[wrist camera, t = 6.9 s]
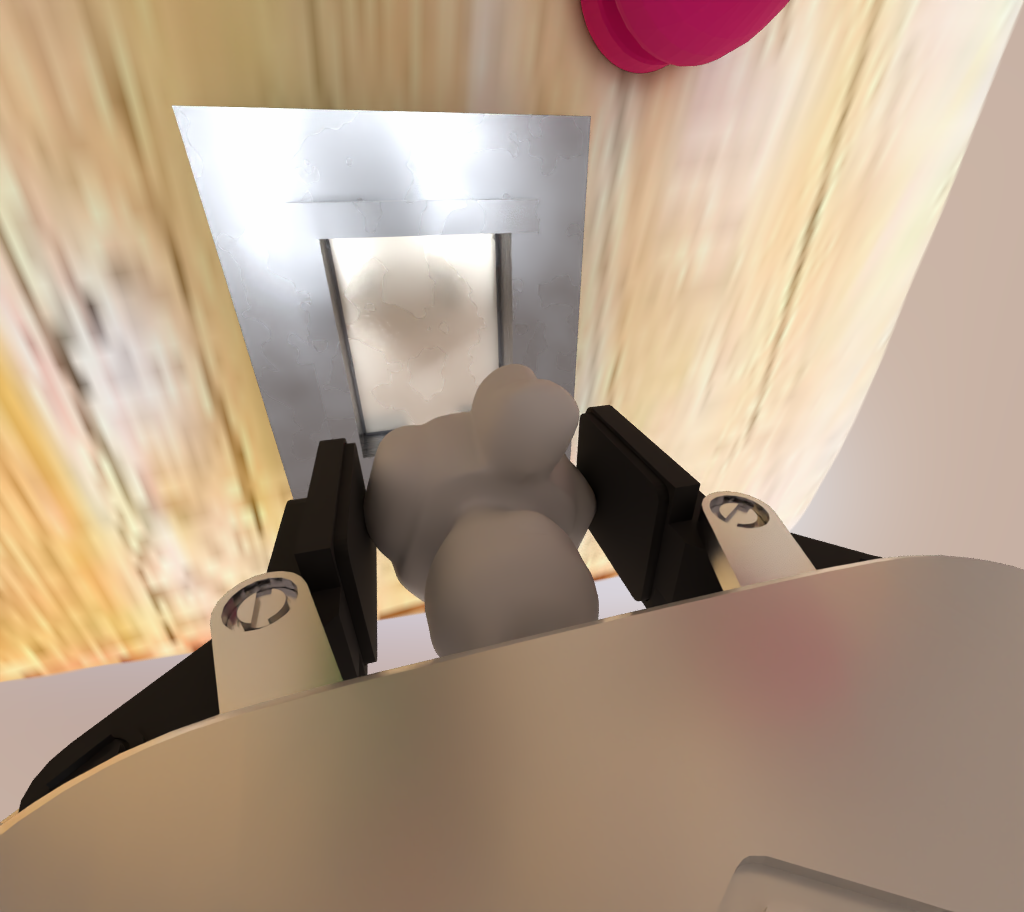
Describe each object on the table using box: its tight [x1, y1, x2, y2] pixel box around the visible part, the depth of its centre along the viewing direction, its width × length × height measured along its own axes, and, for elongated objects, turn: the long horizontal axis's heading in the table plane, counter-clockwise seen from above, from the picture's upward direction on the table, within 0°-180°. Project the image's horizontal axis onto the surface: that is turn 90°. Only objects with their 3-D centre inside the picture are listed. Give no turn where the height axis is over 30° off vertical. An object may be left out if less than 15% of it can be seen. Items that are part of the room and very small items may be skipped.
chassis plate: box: [172, 106, 591, 499], centre depth 22 cm, size 18×16×4 cm
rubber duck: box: [363, 364, 599, 657], centre depth 9 cm, size 5×7×8 cm
